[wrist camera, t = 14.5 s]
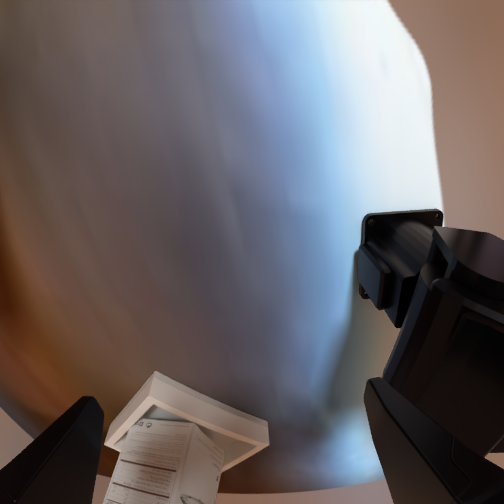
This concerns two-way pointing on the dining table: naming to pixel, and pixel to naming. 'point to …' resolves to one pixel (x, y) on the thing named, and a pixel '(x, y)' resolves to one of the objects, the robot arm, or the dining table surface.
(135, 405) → the tray
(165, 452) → the supplement box
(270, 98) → the dining table surface
